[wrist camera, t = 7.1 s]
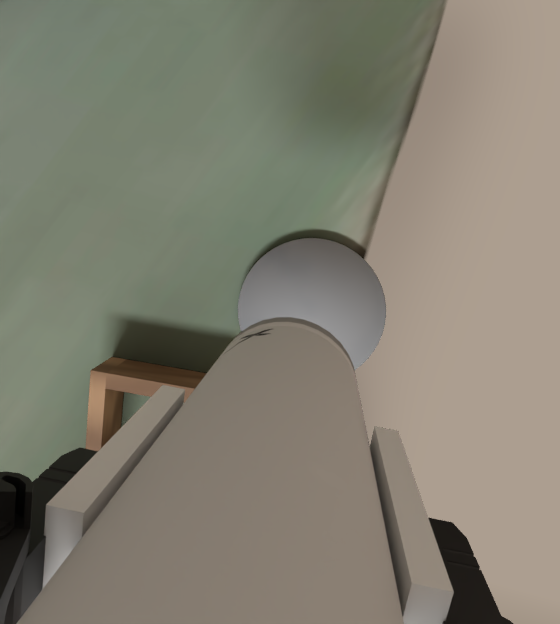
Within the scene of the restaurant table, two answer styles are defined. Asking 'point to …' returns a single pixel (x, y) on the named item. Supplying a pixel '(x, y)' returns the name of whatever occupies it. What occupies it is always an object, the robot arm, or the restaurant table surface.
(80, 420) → the restaurant table surface
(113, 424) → the brown open square frame
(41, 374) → the restaurant table surface
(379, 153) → the restaurant table surface
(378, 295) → the grey round disc
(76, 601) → the travel mug
